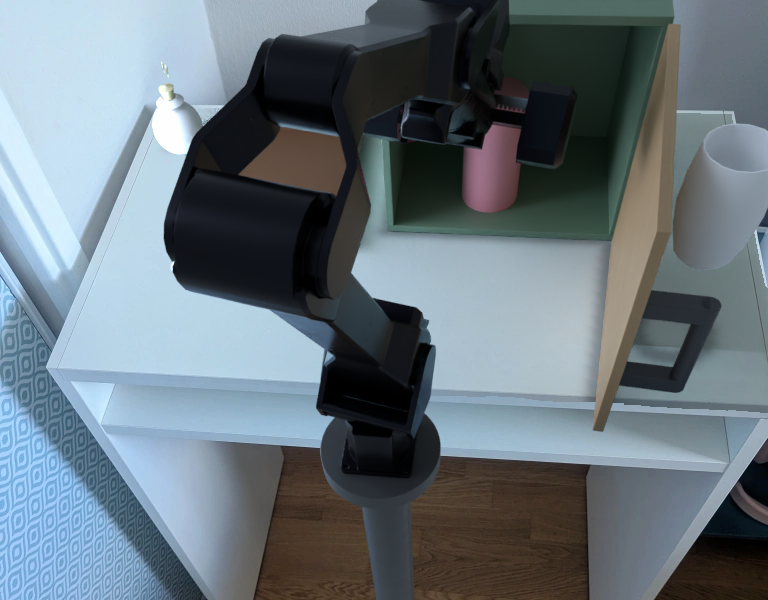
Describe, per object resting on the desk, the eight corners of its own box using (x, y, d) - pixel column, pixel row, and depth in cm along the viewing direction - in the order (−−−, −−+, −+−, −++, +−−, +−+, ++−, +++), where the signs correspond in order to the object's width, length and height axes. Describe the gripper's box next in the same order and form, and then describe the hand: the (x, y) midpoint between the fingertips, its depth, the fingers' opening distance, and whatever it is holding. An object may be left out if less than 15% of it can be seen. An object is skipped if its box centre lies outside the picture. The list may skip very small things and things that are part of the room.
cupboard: (615, 241, 84) (674, 16, 64) (386, 231, 87) (373, 12, 67) (611, 139, 93) (663, -88, 72) (404, 133, 96) (397, -87, 75)
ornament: (160, 167, 95) (133, 89, 86) (162, 131, 99) (136, 52, 90) (208, 161, 95) (186, 83, 86) (209, 125, 99) (187, 46, 90)
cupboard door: (674, 250, 83) (753, 28, 63) (666, 441, 71) (761, 241, 51) (610, 244, 84) (668, 23, 64) (592, 430, 72) (656, 231, 52)
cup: (640, 360, 76) (706, 180, 58) (628, 307, 79) (687, 121, 61) (714, 357, 76) (803, 175, 57) (698, 304, 79) (778, 116, 61)
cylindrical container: (516, 213, 86) (527, 114, 76) (459, 211, 87) (463, 112, 76) (518, 177, 89) (529, 76, 79) (463, 175, 90) (468, 74, 79)
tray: (338, 251, 86) (336, 236, 84) (191, 244, 88) (187, 230, 86) (364, 133, 96) (362, 118, 94) (232, 129, 98) (228, 115, 96)
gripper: (595, -11, 56) (597, 56, 70) (358, -40, 60) (406, 29, 74) (555, 152, 59) (565, 183, 74) (333, 114, 63) (384, 151, 78)
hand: (479, 133), depth 75 cm, fingers open, 9 cm apart
